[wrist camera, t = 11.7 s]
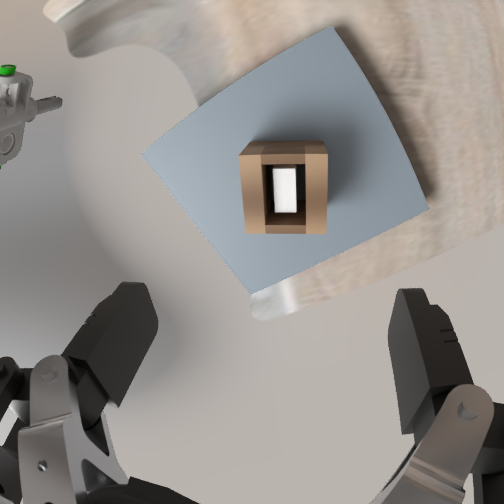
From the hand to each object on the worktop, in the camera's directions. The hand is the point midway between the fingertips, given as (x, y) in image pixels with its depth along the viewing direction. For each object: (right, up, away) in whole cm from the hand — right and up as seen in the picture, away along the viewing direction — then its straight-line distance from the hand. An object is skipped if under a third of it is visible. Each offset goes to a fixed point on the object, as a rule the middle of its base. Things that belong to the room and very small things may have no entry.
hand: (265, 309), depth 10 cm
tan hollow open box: (+3, +8, +16) cm, 18 cm away
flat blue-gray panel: (+3, +9, +18) cm, 20 cm away
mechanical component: (-22, +18, +17) cm, 33 cm away
